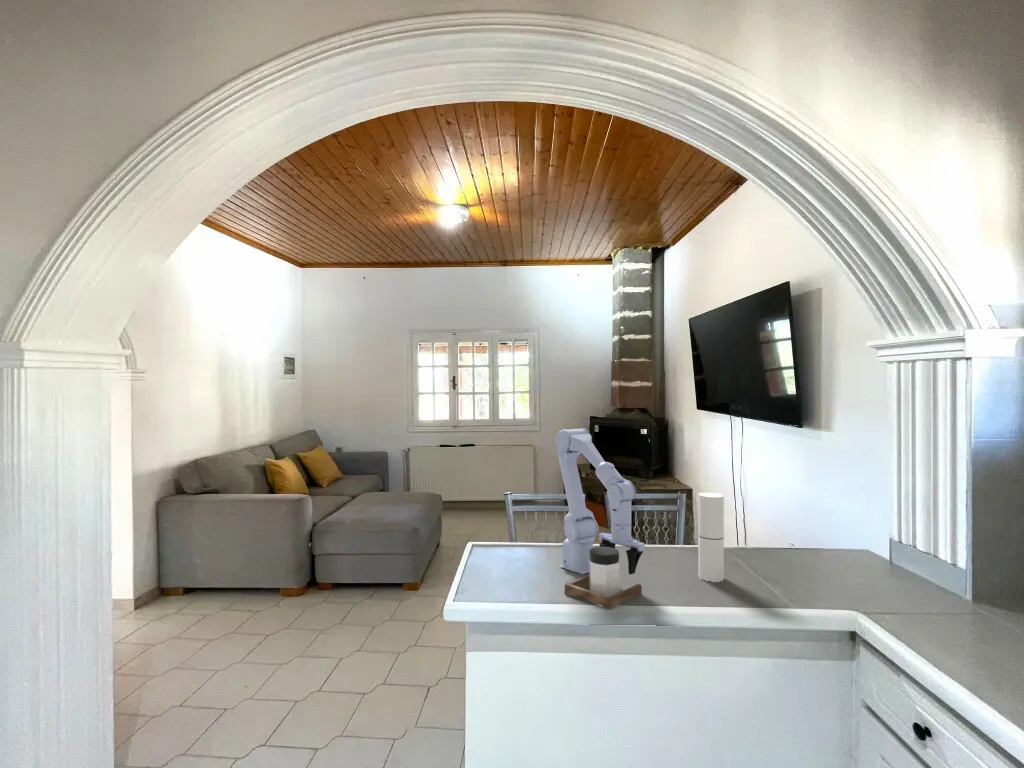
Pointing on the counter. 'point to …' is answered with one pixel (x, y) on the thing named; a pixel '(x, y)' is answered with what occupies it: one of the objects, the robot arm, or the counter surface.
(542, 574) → the counter surface
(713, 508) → the cylindrical container
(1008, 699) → the counter surface
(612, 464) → the robot arm
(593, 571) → the jar
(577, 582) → the bay
